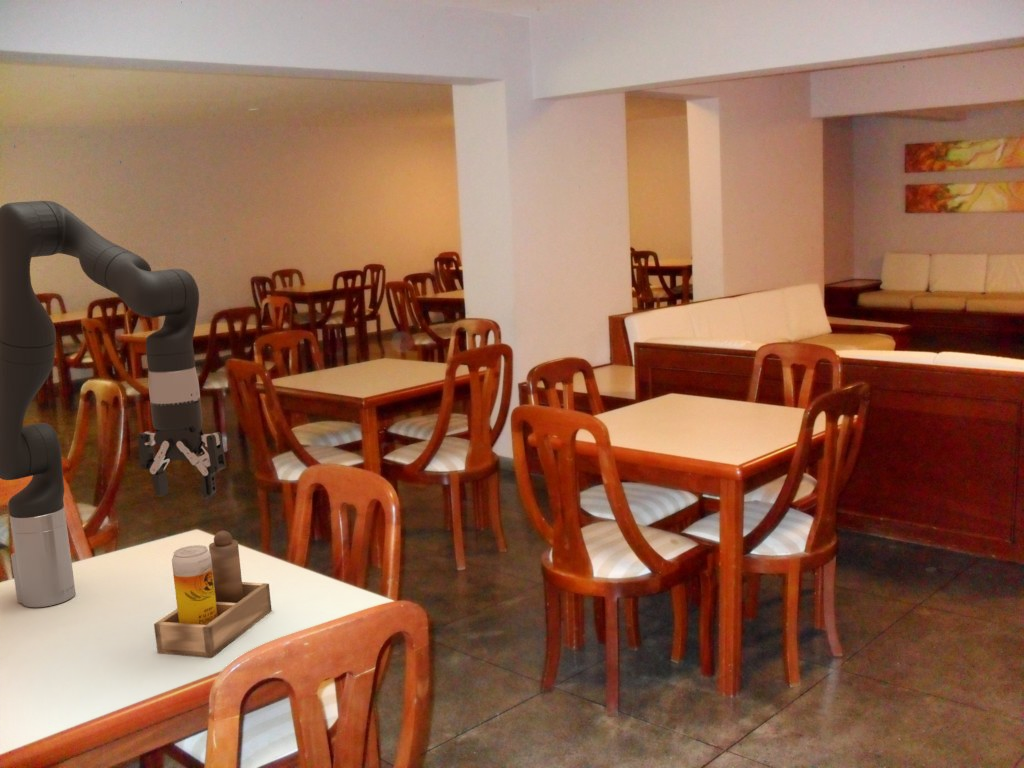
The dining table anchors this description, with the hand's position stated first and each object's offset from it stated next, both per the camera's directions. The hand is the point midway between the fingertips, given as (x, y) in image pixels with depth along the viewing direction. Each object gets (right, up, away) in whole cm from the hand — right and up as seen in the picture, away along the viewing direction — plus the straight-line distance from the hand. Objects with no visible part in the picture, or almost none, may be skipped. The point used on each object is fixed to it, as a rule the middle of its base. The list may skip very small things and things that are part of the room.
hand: (186, 496), depth 160 cm
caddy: (+3, -24, +9) cm, 25 cm away
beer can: (+1, -24, +4) cm, 24 cm away
